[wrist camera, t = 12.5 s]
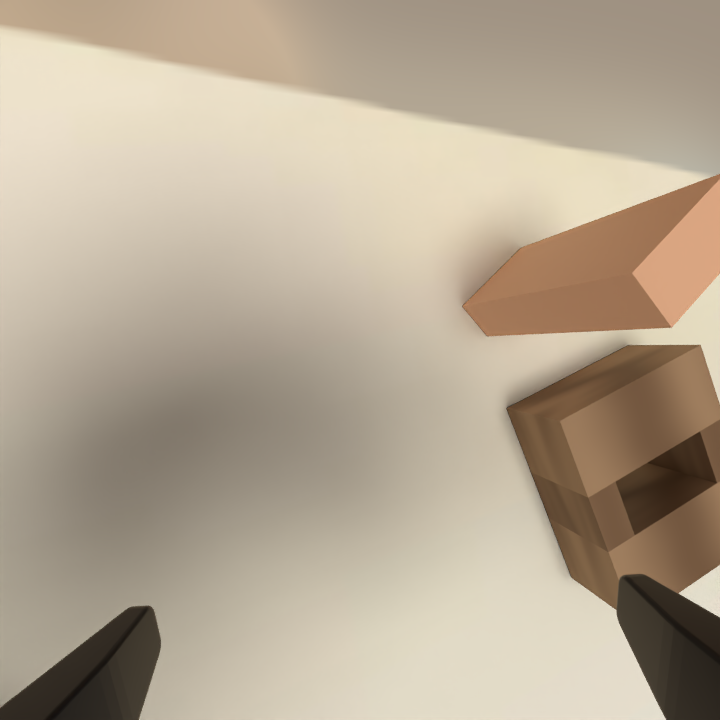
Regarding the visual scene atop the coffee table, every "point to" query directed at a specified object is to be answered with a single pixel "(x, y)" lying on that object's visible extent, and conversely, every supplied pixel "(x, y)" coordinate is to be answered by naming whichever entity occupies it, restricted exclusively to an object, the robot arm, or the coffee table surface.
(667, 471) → the slot box
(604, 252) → the rectangular block
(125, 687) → the robot arm
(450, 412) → the coffee table surface
